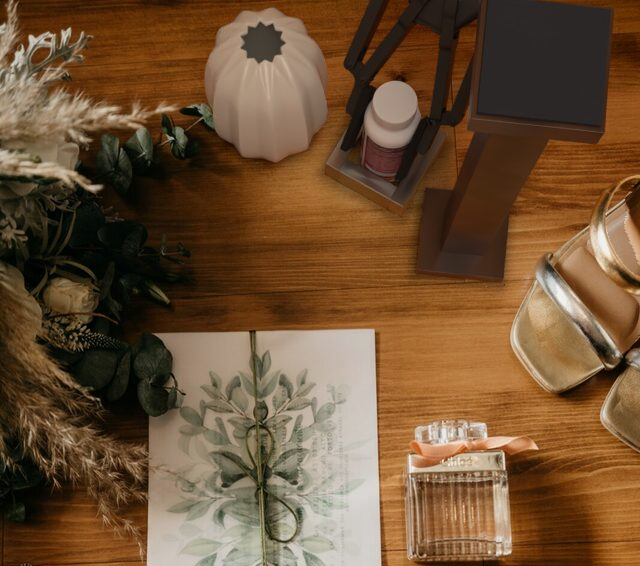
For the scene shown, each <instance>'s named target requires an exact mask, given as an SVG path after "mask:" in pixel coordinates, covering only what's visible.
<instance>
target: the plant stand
mask: <svg viewBox="0 0 640 566" xmlns="http://www.w3.org/2000/svg"><path fill="white" fill-rule="evenodd" d="M487 1H488V0H481V2H480V6H479V9H478V18H477V19H476V29H475V39H474V40H475V41H474V48H473V49H474V50H473V52H474V59H473V69H472V79H471V90H470V100H469V106H468V109H467V119H466V120H467V122H466V131H467V132H473V134H472V137H471V140H470V143H469V144H468V148H467V150H466V153H465V155H464V158H463V161H462V163H461V167H460V169H459V172H458V175H457V177H456V179H455V182H454V185H453V187H452V189H444V188H436V187H435V188H434V187H425V188H424V191H423V200H422V209H421V217H420V227H419V239H418V248H417V257H416V267H415V268H416V269H415V274H416V275H423V276H425V275H426V276H434V277H444V278H451V279H452V278H453V279H461V280H471V281H478V282H479V281H480V282H490V283H497V284H499V283H500V284H502V282H503V281H504V278H505V268H506V267H505V266H506V256H507V245H508V236H509V235H508V234H509V224H510V223H509V222H510V213H511V212H510V211H511V209H512V207H513V205H514V203H516V200H517V198H518V197H519V195H520V193H521V191H522V189H523V188H524V186H525V184H526V183H527V181H528V179H529V177H530V175H531V174H532V172H533V170H534V168H535V166H536V165H537V164H538V162H539V160H540V158H541V156H542V154H543V152H544V151H545V149H546V147H547V145H548V143H549V142H550V141H558V142H559V141H560V142H567V143H578V144H587V145H598V143H599V142H600V140H601V139H602V138H603V136H604V135H605V133H606V120H607V109H608V108H607V107H608V95H609V83H610V72H611V71H610V70H611V59H612V58H611V57H612V45H613V44H612V43H613V33H614V20H615V7H608V6H598V5H589V4H588V5H587V4H579V3H571V2H560V1H553V0H551V1H550V0H527V1H537V2H546V3H556V4H565V5H575V6H584V7H594V8H603V9H611V12H610V24H609V37H608V49H607V62H606V74H605V87H604V99H603V112H602V124H601V126H600V127H593V126H583V125H574V124H564V123H555V122H546V121H536V120H527V119H517V118H508V117H499V116H489V115H480V114H477V105H478V95H479V84H480V74H481V64H482V53H483V43H484V33H485V22H486V12H487Z"/></svg>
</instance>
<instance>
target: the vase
mask: <svg viewBox="0 0 640 566" xmlns="http://www.w3.org/2000/svg"><path fill="white" fill-rule="evenodd" d="M203 77H204V79H203V84H204V93H205V98H206V100H207V102H208V105H209V107H210V109H211V110H212V118H213V119H212V120H213V126H214V130H215V132H216V135H217V136H218V137H219V138H221V139H222V140H224V141H226V142H228V143H229V144H232V145H233V146H234V147H235V149H236V150H237V152H238V153H239V155H240V156H241V157H242V158H244V159H247V158H248V159H263V160H266V161H269V162H273V163H278V162H280V161H282V160H283V159H285V158H287V157H288V156H291V155H295V154H298V153H301V152H305V151H308V149H309V147H310V145H311V142H312V139H313V137H314V135H315V134H316V133H318V132H319V131H320V130H321V129H322V128H323V127H324V126H325V125H326V123H327V120H328V113H329V111H328V110H329V109H328V103H327V97H326V96H327V92H328V87H329V72H328V67H327V63H326V59H325V56H324V53H323V50H322V49H321V48H320V45H318V43H317V42H316V41H315V40H314V39H313V38H312V37H311V36H310V35H309V34H308V30H307V27H306V24H305V23H304V22H303V21H302V19H300V18H298V17H293V16H288V15H286V14H284V13H283V12H282V11H281V10H279V9H278V8H276V7H272V6H271V7H268V8H265V9H262V10H257V11H256V10H247V9H245V10H241V11H240V12H239V14H237V16H236V17H235V18H234V20H232V22H230V23H227V24H225V25H223V26H221V27H220V28H219V29H218V30H217V32H216V34H215V41H214V47H213V49H212V50H211V52H210V53H209V56H208V59H207V61H206V63H205V68H204V76H203Z"/></svg>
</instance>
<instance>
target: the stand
mask: <svg viewBox="0 0 640 566" xmlns="http://www.w3.org/2000/svg"><path fill="white" fill-rule="evenodd" d="M372 100H373V99H372ZM422 118H423V117H421V119H422ZM348 126H349V124H348V125H347V127H346V129H345V130H344V132H343V133H342V135H341V137H340V138H339V140H338V141H337V143H336V145H335V146H334V148H333V150H332V151H331V153H330V155H329V157H328V158H327V160H326V161H325V162H324V166H325V168H324V175H326V176H327V177H328V178H331V179H333V180H334V181H336V182H338V183H340V184H342V185H343V186H345V187H346V188H349V189H350V190H352V191H354V192H356V193H357V194H359V195H361V196H363V197H365V198H366V199H368V200H370V201H372V202H374V203H375V204H377V205H379V206H381V207H383V209H386V210H388V211H390V212H391V213H393V214H395V215H397V216H398V217H400V218H402V217H403V216H404V214H405V212H406V210H407V208H408V207H409V205H410V203H411V202H412V200H413V199H414V197H415V195H416V193H417V192H418V190H419V188H420V187H421V185H422V183H423V182H424V180H425V178H426V177H427V175H428V173H429V172H430V170H431V168H432V166H433V165H434V163H435V162H436V160H437V159H438V156H439V155H440V153H441V152H442V150H443V149H444V146H445V145H446V142H447V138H448V135H449V132H448V131H446V130H444V129H442V128H441V127H440V128H439V130H438V133H437V135H436V137H435V139H434V141H433V143H432V145H431V148H430V149H429V150H428V151H427V152H426V153H425V154H424V155H421V154H419V153H417V155H416V157H415V159H414V161H413V163H412V166H411V168H410V170H409V172H408V174H407V177H406V178H404V179H403V180H402V181H401V182H399V184H398V186H397V185H395V184H393V182H388V181H386V180H384V179H383V178H381V177H379V176H377V175H375V174H374V173H372V172H370V171H368V170H366V169H365V168H363V167H362V165H360V164H358V163H356V162H354V161H352V160H353V158H354V156H355V154H357V151H358V149H360V147H361V141H362V131H363V125H362V127H361V130H360V132H359V135H358V137H357V140H356V142H355V145H354V147H353V148H351V149H350V150H348V151H346V152H345V151H343V150H341V149H340V146H341V144H342V141H343V139H344V136H345V133H346V131H347V128H348Z"/></svg>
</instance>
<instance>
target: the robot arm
mask: <svg viewBox="0 0 640 566" xmlns="http://www.w3.org/2000/svg"><path fill="white" fill-rule="evenodd" d="M390 1H391V0H369V2H368V4H367V6H366V9H365V11H364V14H363V15H362V18H361V21H360V23H359V25H358V27H357V30H356V32H355V35H354V36H353V38H352V41H351V43H350V45H349V48H348V50H347V53H346V54H345V57H344V59H343V63H342V64H343V65H342V66H343V69H345V70H346V71H348V72H349V73H350V74H351V76H352V77H353V78H354V84H353V87H352V90H351V92H350V95H349V97H348V99H347V103H346V105H345V114H347V115H348V116H351V117H350V121H349V123H348V125H349V126H348V125H347V127H348V128H347V127H346V129H347V131H346V133H345V136H344V139H343V141H342V144H341V146H340V149H341V150H343V151H345V152H346V151H348V150H350V149H351V148H353V147H354V145H355V142H356V140H357V137H358V135H359V132H360V130H361V127H362V125H363V120H364V114H365V110H366V108H367V106H368V104H369V103H370V102H371V101H372V99H373V97H374V94H375V92H376V90H377V89H378V88H377V87H376V86H374V85H372V84H371V82H373V81H375V78H376V77H377V76H378V74H379V73H380V71H381V70H382V69H383V68H384V66H385V65H386V63H388V61H389V60H390V58H391V57H392V56H393V55H394V53H395V52H396V50H397V49H399V47H400V46H401V45H402V43H403V42H404V40H405V39H406V38H407V37H408V35H409V34H410V33H411V32H412V30H413V29H414V28H415V27H417V25H419V26H422V27H427V28H429V29H430V31H432V32H433V33H434V34H435V35H438V36H439V40H438V54H437V62H436V69H435V75H434V82H433V87H432V96H431V102H430V110H429V115H425V116H424V117H421V118H422V119H421V120H420V122H419V124H418V126H417V128H416V131H415V133H414V135H413V137H412V140H411V142H410V144H409V146H408V148H407V151H406V153H405V155H404V157H403V160H402V162H401V164H400V166H399V169H398V171H397V173H396V175H395V178H394V179H395V180H396V181H397V182H399V183H400V182H401V181H402V180H403V179H404V178H406V177H407V174H408V172H409V170H410V168H411V166H412V163H413V161H414V159H415V158H416V156H417V154H418V153H419V154H421V155H424V154H425V153H426V152H427V151H428V150H429V149H430V148H431V145H432V143H433V141H434V139H435V137H436V135H437V133H438V130H439V128H441V127H443V126H445V127H450V128H455V127H457V126H458V125H459V124H460V123H462V122H463V120H464V119H465V115H466V113H467V112H468V110H469V100H470V90H471V79H472V69H473V59H474V51H473V53H472V56H471V58H470V60H469V63H468V65H467V68H466V70H465V72H464V76H463V78H462V80H461V84H460V85H459V88H458V91H457V93H456V96H455V98H454V101H453V103H452V106H451V108H450V110H448V104H449V99H450V91H451V85H452V79H453V74H454V73H453V72H454V67H455V66H454V65H455V61H456V60H455V59H456V54H457V49H458V46H459V42H460V36H461V30H463V29H464V28H466V27H467V26H469V25H470V24H471V23H473V22H475V21H477V18H478V9H479V6H480V2H481V0H408V5H407V6H406V8H405V9H404V10H403V12H402V13H401V14H400V15H399V17H398V19H397V20H396V22H395V24H394V25H393V26H392V27H391V29H390V30H389V31H388V33H387V34H386V35H385V37H384V38H383V39H382V40H381V42H380V44H379V45H378V46H377V47H376V48H375V50H374V51H373V53H372V54H371V56H370V57H369V58H368V59H367V61H365V63H364V62H363V61H364V59H365V56H366V54H367V52H368V50H369V48H370V45H371V43H372V41H373V39H374V37H375V35H376V33H377V31H378V28H379V26H380V24H381V21H382V19H383V17H384V14H385V12H386V10H387V9H388V5H389V3H390Z"/></svg>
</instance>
